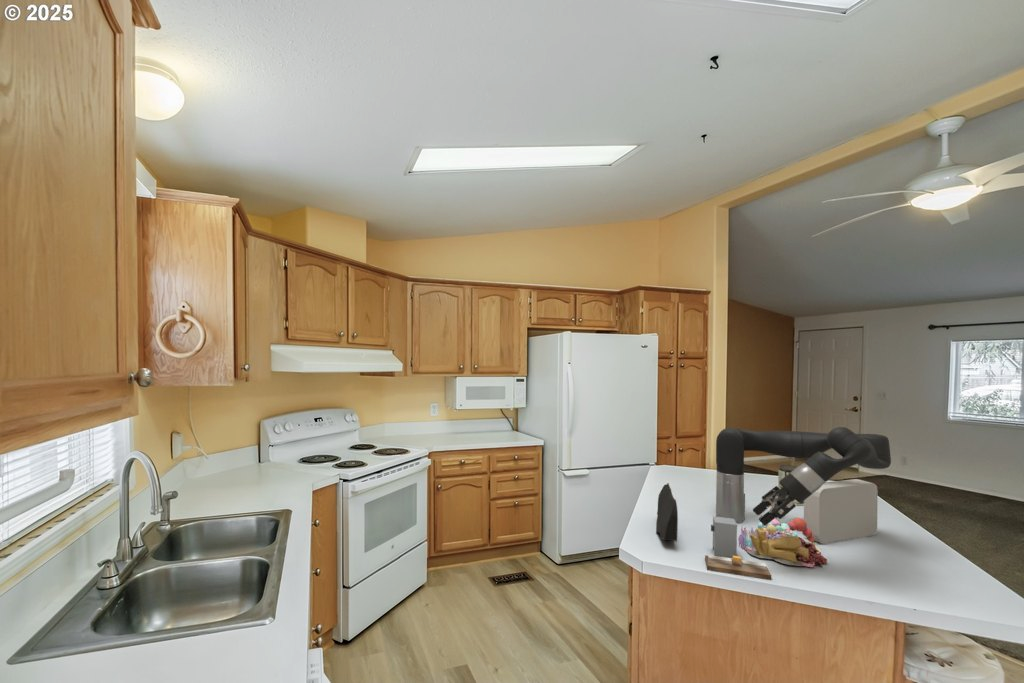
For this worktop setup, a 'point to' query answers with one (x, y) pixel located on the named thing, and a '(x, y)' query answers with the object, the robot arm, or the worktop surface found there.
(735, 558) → the latch tab
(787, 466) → the coffee can
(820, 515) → the rounded-edge off-white block
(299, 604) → the worktop surface
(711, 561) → the DIN rail board
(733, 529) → the breaker module
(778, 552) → the candy landscape model
